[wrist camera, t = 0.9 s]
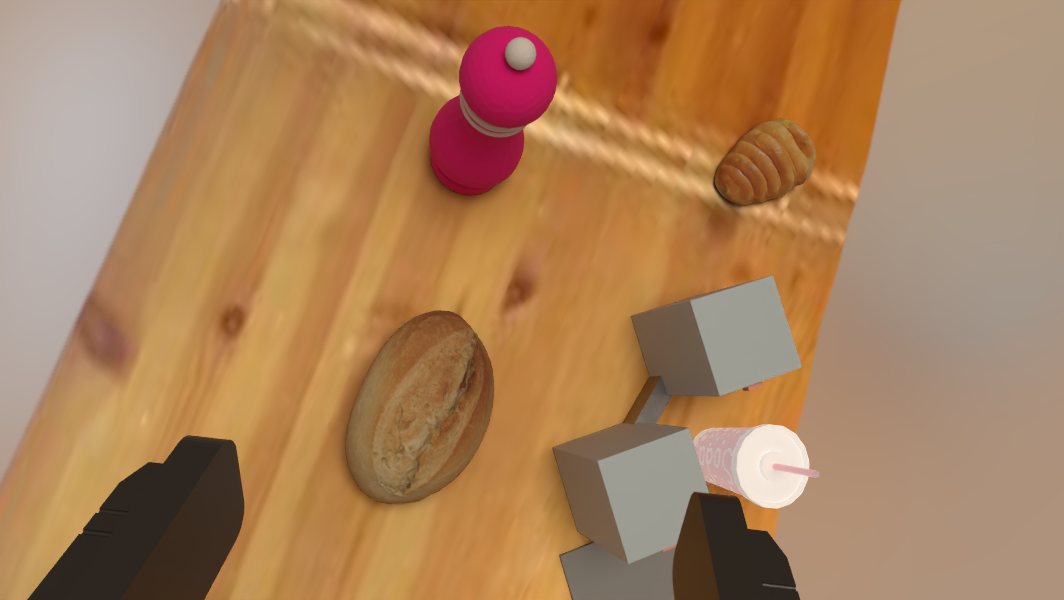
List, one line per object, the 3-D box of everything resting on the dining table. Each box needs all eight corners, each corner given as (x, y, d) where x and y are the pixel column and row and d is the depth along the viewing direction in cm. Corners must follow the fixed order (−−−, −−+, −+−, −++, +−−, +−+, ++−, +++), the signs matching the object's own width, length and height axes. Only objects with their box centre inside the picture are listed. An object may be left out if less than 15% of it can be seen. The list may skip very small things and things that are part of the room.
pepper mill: (461, 218, 58) (514, 133, 38) (406, 148, 57) (432, 26, 38) (527, 169, 60) (610, 65, 40) (474, 100, 59) (533, -38, 40)
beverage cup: (691, 409, 61) (788, 415, 47) (752, 431, 62) (864, 443, 48) (672, 479, 59) (766, 506, 46) (735, 500, 61) (844, 532, 47)
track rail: (611, 480, 58) (622, 483, 56) (595, 469, 58) (606, 473, 56) (685, 348, 61) (699, 347, 59) (671, 338, 61) (683, 336, 59)
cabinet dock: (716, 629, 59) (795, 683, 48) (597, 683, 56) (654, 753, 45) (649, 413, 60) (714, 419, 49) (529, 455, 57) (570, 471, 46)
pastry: (735, 227, 64) (758, 217, 60) (695, 164, 64) (716, 150, 60) (807, 177, 67) (834, 164, 63) (769, 117, 66) (793, 101, 63)
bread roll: (508, 339, 58) (532, 331, 50) (442, 519, 55) (457, 540, 47) (397, 295, 56) (404, 280, 48) (322, 478, 53) (317, 494, 45)
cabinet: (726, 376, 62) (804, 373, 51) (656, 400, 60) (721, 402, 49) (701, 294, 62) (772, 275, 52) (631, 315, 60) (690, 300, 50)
